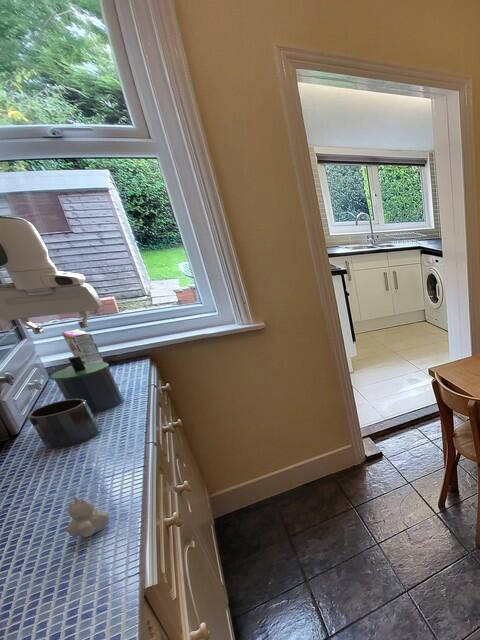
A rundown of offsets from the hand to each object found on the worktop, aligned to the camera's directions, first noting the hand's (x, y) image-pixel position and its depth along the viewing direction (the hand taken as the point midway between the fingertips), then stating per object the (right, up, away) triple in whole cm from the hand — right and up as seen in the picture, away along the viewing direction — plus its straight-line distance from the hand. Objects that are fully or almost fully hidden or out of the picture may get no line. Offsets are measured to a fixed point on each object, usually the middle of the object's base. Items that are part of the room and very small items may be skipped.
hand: (62, 330), depth 115 cm
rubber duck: (+50, -43, -40) cm, 77 cm away
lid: (-1, -11, +6) cm, 13 cm away
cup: (+11, -29, -7) cm, 32 cm away
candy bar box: (-26, -12, +35) cm, 45 cm away
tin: (0, -22, +10) cm, 24 cm away
